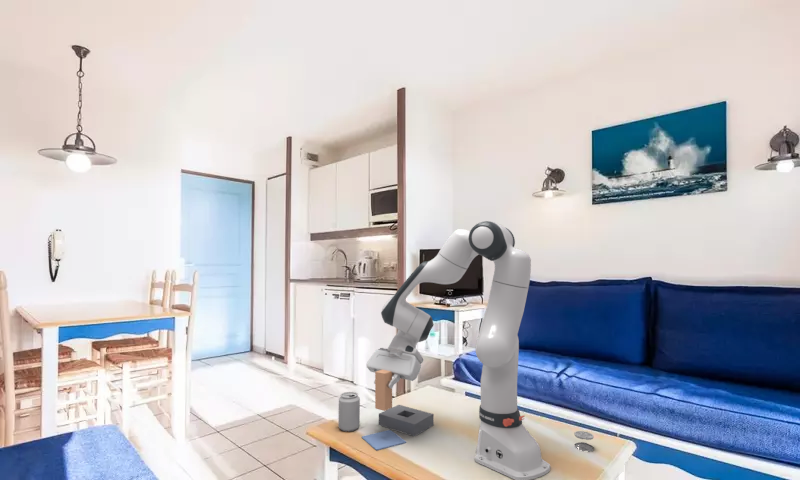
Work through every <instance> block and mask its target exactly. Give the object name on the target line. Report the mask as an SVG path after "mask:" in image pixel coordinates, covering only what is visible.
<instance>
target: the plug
mask: <svg viewBox="0 0 800 480" xmlns="http://www.w3.org/2000/svg"><path fill="white" fill-rule="evenodd" d="M374 373H375V374H374V378H375V379H374V381H375V384H374V385H375V386H374V391H375V392H374V394H375V399H374V400H375V401H374V403H375V405H374V408H375V409H376V410H379V411H382V412H384V411H386V410H388V409H390V408H392V407H393V388H392V389H390V388H388V387H387V386H386V385H387V383H388V381H391V380H392V379H393V377H392V372H391V371H387V370H379V371H376V372H374Z"/></svg>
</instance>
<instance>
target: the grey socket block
mask: <svg viewBox="0 0 800 480" xmlns="http://www.w3.org/2000/svg"><path fill="white" fill-rule="evenodd" d="M434 420H435V419H434V413H432V412H427V411H423V410H421V409H417V408H413V407H408V406H405V405H402V404H397V405H395V406H392V408H390V409H388V410H386V411H381V412H378V426H380V427H384V428H387V429H389V430H393V431H397V432H399V433H402V434H406V435H409V436H412V437H416V436H418V435H420V434H421V433H423V432H424V431H427V430H428V429H430V428H432V427H433V426H434V425H435V424H434V423H435V422H434Z"/></svg>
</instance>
